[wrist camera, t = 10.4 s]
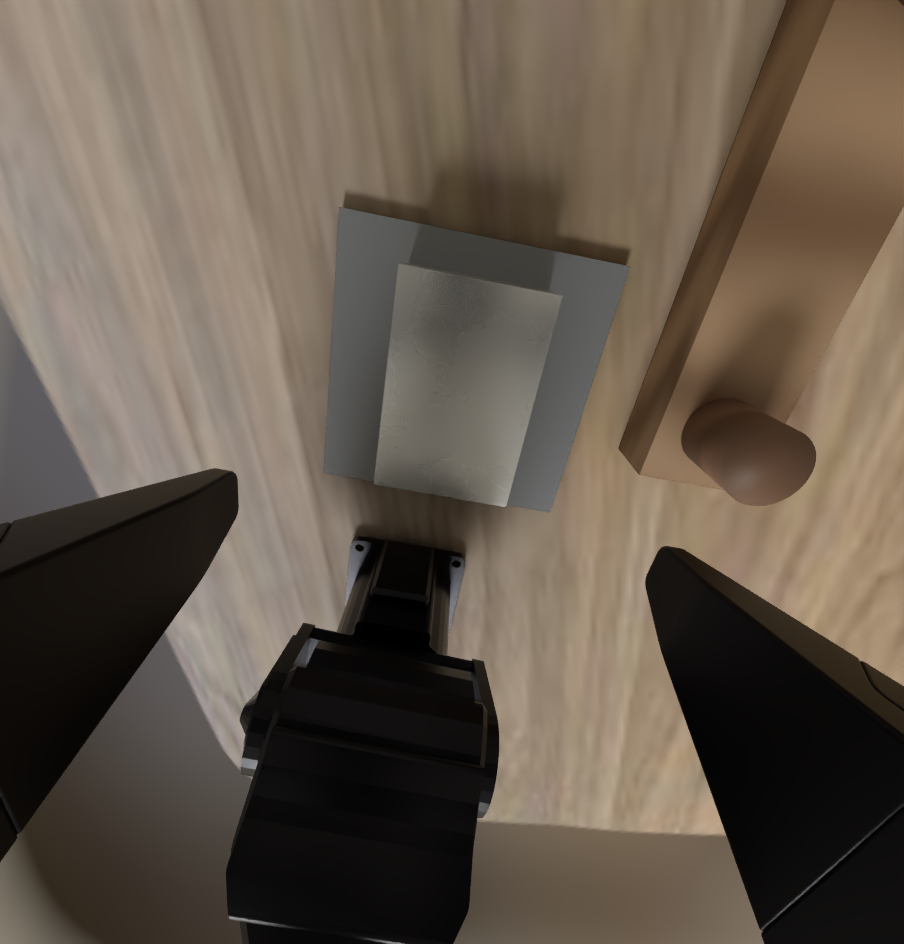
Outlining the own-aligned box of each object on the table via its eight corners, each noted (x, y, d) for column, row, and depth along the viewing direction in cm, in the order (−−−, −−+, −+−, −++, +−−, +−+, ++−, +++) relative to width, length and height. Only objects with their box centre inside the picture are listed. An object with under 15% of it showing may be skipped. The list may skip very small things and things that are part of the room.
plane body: (713, 466, 22) (829, 564, 15) (618, 448, 22) (690, 539, 15) (993, -105, 14) (1568, -504, 7) (841, -144, 14) (1269, -604, 6)
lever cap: (501, 477, 23) (506, 507, 20) (385, 457, 22) (373, 484, 20) (549, 290, 19) (563, 295, 16) (408, 262, 18) (398, 263, 16)
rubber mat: (548, 507, 24) (550, 512, 23) (326, 468, 23) (323, 472, 23) (625, 266, 19) (630, 266, 18) (342, 208, 18) (339, 206, 18)
